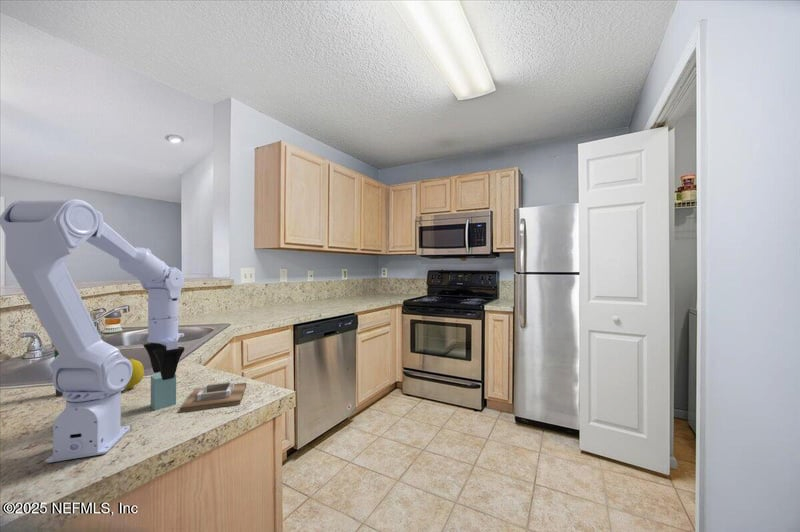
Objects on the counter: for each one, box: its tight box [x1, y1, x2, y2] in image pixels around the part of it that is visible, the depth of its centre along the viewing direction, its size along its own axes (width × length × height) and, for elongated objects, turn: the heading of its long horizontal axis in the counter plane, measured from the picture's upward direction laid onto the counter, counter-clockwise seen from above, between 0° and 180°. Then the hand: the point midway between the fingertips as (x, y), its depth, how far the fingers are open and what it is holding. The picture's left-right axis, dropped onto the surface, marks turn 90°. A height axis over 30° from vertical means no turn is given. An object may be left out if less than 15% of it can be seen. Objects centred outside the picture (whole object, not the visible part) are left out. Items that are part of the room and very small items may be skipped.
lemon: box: [124, 358, 145, 390], centre depth 84 cm, size 6×6×8 cm
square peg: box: [150, 372, 177, 411], centre depth 74 cm, size 4×4×7 cm
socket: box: [179, 381, 247, 413], centre depth 78 cm, size 12×12×2 cm
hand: (163, 375), depth 74 cm, fingers open, 7 cm apart
